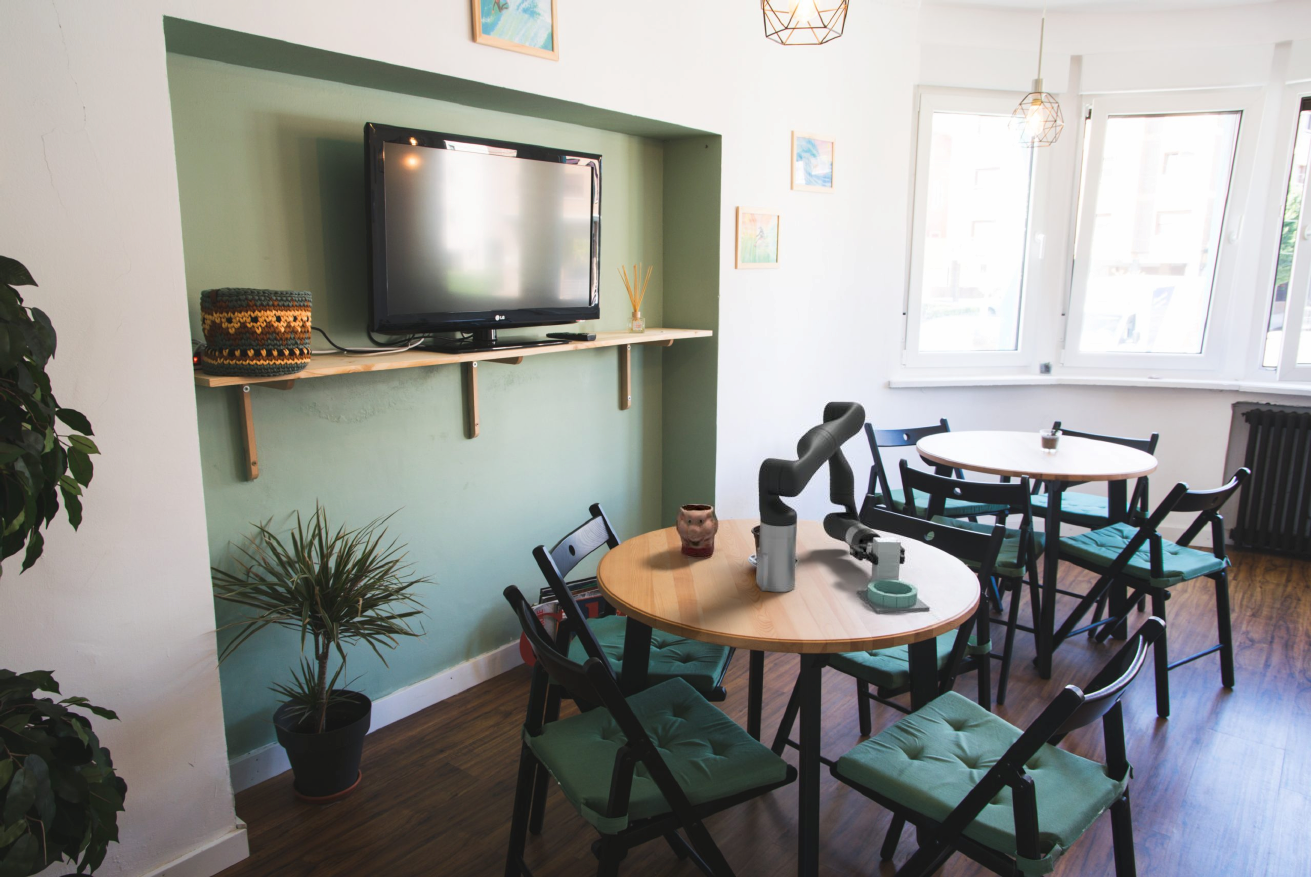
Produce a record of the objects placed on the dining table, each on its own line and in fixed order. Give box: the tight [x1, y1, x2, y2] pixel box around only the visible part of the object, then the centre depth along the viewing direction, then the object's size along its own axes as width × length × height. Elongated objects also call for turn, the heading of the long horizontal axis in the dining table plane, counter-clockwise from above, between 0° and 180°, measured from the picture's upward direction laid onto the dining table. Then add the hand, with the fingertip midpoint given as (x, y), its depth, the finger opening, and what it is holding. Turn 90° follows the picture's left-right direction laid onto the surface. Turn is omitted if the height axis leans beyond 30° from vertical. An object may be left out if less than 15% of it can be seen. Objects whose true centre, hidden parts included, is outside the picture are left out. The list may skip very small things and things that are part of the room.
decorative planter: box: [675, 503, 719, 559], centre depth 232 cm, size 20×12×14 cm, turn 179°
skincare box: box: [870, 536, 902, 582], centre depth 206 cm, size 6×4×12 cm
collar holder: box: [855, 579, 931, 614], centre depth 196 cm, size 13×13×4 cm
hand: (889, 560), depth 204 cm, fingers closed on skincare box, 6 cm apart
